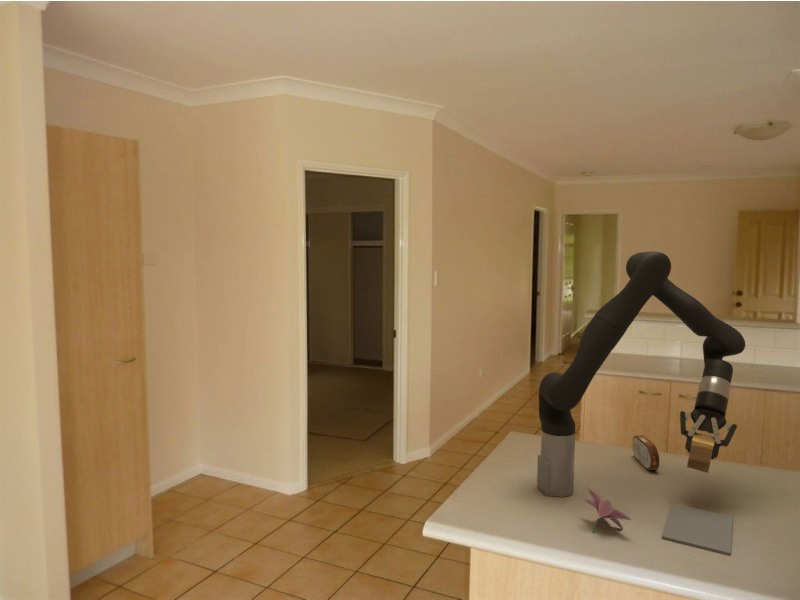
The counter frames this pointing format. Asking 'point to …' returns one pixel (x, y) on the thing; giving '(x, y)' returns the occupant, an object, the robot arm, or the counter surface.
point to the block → (701, 452)
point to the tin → (646, 452)
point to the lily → (605, 509)
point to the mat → (699, 529)
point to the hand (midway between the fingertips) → (700, 454)
